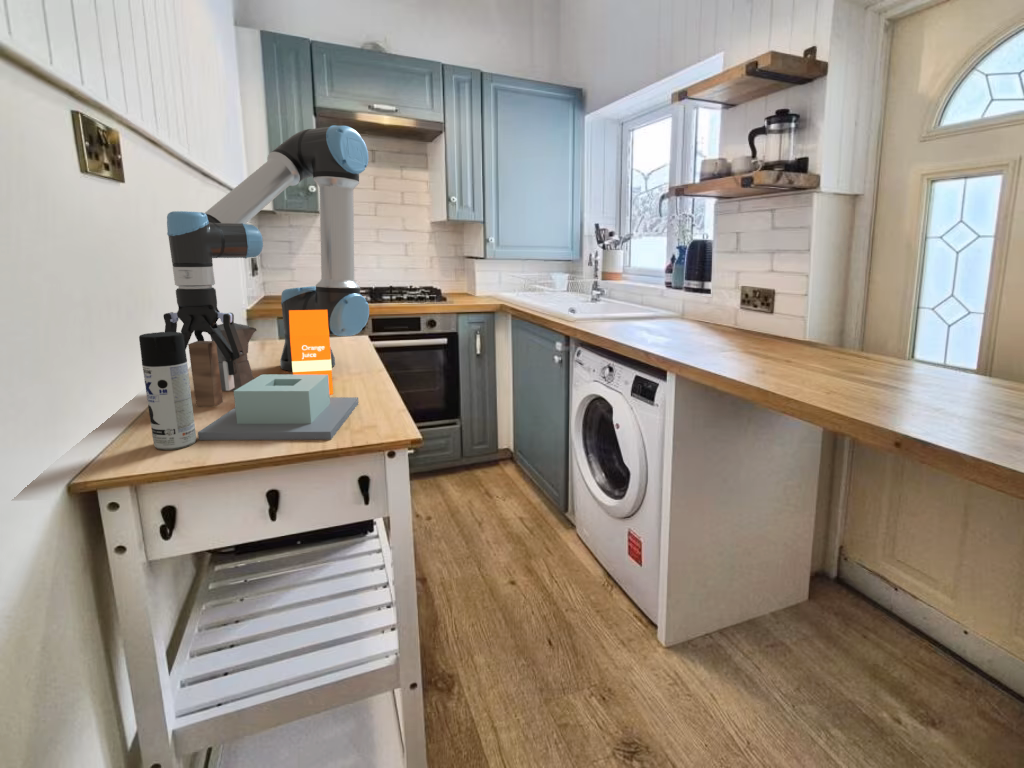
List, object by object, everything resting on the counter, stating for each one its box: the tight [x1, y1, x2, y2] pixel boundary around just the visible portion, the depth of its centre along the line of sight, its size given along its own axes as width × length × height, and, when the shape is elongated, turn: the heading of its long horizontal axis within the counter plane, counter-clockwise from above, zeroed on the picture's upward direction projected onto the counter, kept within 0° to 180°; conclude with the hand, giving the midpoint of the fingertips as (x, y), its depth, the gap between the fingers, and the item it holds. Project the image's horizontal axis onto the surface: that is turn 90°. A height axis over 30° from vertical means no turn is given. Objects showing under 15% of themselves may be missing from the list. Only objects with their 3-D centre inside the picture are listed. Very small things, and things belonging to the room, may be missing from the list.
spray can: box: [138, 331, 197, 451], centre depth 99 cm, size 7×7×20 cm
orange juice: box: [289, 310, 334, 395], centre depth 135 cm, size 8×9×20 cm
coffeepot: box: [193, 322, 257, 392], centre depth 139 cm, size 15×9×18 cm, turn 88°
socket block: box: [197, 373, 360, 441], centre depth 114 cm, size 24×24×8 cm
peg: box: [187, 340, 224, 408], centre depth 124 cm, size 4×4×14 cm
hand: (208, 389), depth 125 cm, fingers open, 9 cm apart
